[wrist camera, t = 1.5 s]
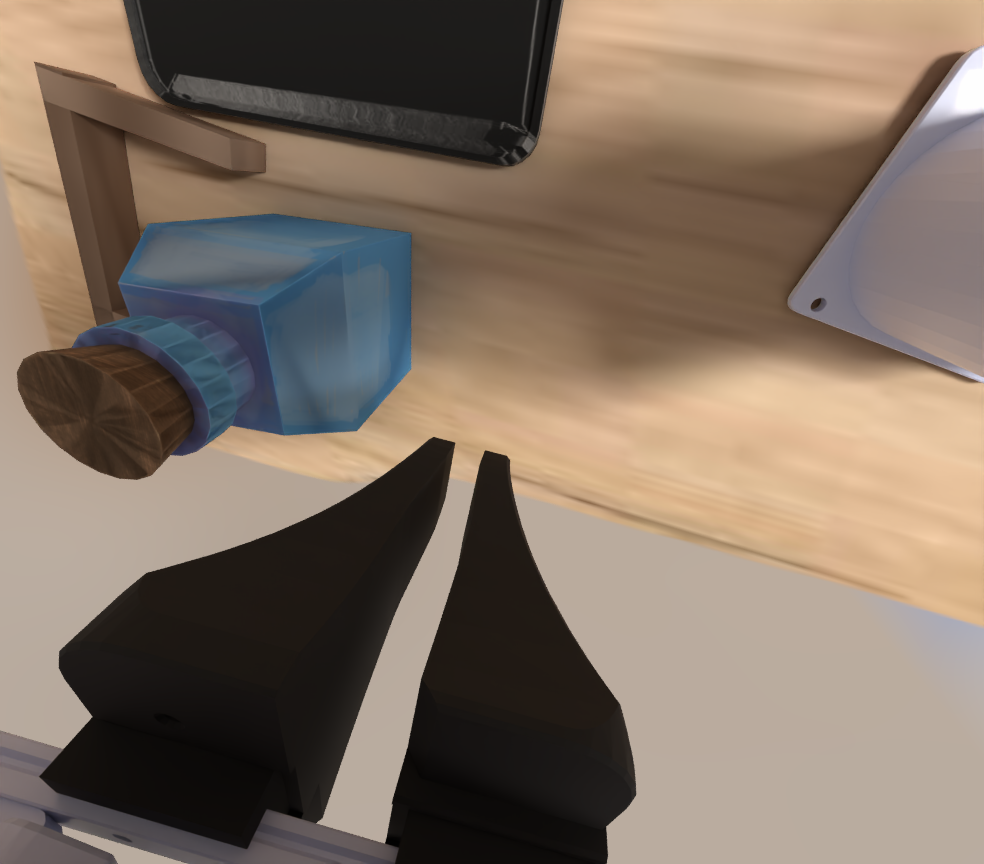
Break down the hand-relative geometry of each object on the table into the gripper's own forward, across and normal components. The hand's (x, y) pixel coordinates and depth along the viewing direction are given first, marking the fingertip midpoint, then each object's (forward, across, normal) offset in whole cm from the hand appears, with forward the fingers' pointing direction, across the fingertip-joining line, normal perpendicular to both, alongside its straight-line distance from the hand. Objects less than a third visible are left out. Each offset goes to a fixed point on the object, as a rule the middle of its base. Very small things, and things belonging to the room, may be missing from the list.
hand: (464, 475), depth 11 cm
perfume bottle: (+10, +8, -1) cm, 13 cm away
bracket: (+9, +15, -2) cm, 18 cm away
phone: (+10, +8, -11) cm, 17 cm away
